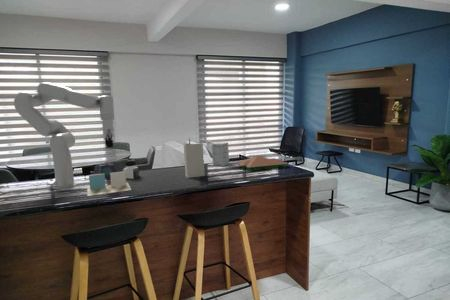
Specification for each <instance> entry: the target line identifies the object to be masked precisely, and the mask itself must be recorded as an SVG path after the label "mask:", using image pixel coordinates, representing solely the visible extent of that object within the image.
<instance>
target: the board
mask: <svg viewBox="0 0 450 300" xmlns="http://www.w3.org/2000/svg"><path fill="white" fill-rule="evenodd" d="M126 191H132V188H131V186H130V184H129V182H126V185H125V186H117V187H111V184H106V188H102V189H94V190H90V187H87V193H86V196H87V197H90V196H91V197H92V196H97V195H106V194H112V193H120V192H126Z"/></svg>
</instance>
